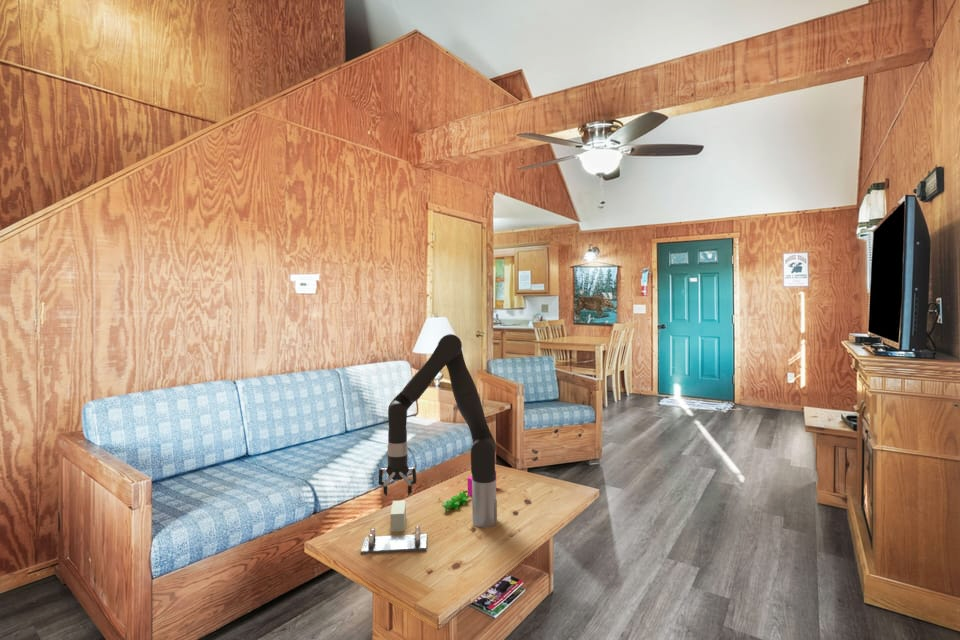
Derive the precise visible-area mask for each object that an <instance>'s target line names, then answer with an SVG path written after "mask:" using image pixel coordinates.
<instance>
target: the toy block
mask: <svg viewBox="0 0 960 640" xmlns="http://www.w3.org/2000/svg"><path fill="white" fill-rule="evenodd" d="M495 472H496V473H497V470H495ZM467 491H468V492H467V495H470V496H469V497H472V476H469V477H467Z"/></svg>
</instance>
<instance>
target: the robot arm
mask: <svg viewBox="0 0 960 640" xmlns="http://www.w3.org/2000/svg"><path fill="white" fill-rule="evenodd" d="M462 347H463V344H462V341H461V339H460V338H459V337H458V336H457V335H455V334H453V333H447V334H444V335H443V336H441V337H440V338H439V340H438V342H437V345H436V347H435V349H434V350H433V352H432V354H431V355H430V357H429V358H428V359H427V361H425V363H424V364H423V365H422V367H421V368H419V370H418V371H417V372H415V374H414V375H413V376H412V377H411V379H409V381H408V382H407V384H406V385H405V386H404V387H403V389H402V390H401V391H400V392H399V393H398V394H397V395H396V396H395V397H394V398H393V399H392V400H391V402H390V403H389V405H388V408H387V409H388V410H387V416H388V419H387V421H388V433H387V435H388V436H387V438H388V442H387V466H386V468H385V467H384V468H383V467H380V468H379V472H378V482H377V483H378V485H379V486H382V487H383V495H384V496H385V497H387V496H388V494H389V493H388V491H389V490H388V489H389V486H388V484H389V483H390V481H392V480H393V481H398V480H399V481H401V480H403V481H404V482H405V483H406V484H407V496H410V494H412V492H413V491H412V490H413V485H415V484H417V481H418V480H417V468H416V467H417V466H412V467H409V466H408V465H409V464H408V463H409V462H408V457H409V456H408V455H409V454H408V453H409V451H408V448H409V447H408V435H407V434H408V430H407V424H408V423H407V420H408V409H410V407H411V406H412V405H413V404H414V403H415V402H417V401H418V400H420V398H421V396H423V394H424V393H425V392H426V390H427V389H428V388H429V386H430V385H431V384H432V382H433V381H434V380H435V379H436V377H437V376H438V374H439V373H440V372H441V371H442V369H444V367H445V366H446V369H447V372H448V376H449V380H450V382H449V383H450V387H451V389H452V393H453V398H454V401H455V403H456V407H457V409H458V412H459V413H460V414H461V417H462V418H463V419H464V421H465V422H466V425H467V427H468V429H469V432H470V436H471V439H472V445H471V448H470V473H471V477H472V496H471V499H472V500H471V501H472V502H471V503H472V504H471V505H472V512H471V513H472V517H471V518H472V525H474V526H475V527H478V528H481V529H483V528H484V529H486V528H488V529H489V528H492V527H494V525H495V526H498V500H497V471H496V452H497V444H496V441H495V439H494V436H493V434H492V432H491V430H490V427H489V425H488V423H487V420H486V417H485V413H484V412H485V411H484V408H483V405H482V401H481V398H480V395H479V392H478V388H477V387H476V384H475V382H474V380H473V378H472V375H471V374H470V371H469V369H468V367H467V365H466V362H465V357H464V354H463V349H462ZM495 471H496V472H495ZM409 472H410V474H412V480H411V478H410V477H409V475H408V474H409ZM385 473H387V477H386V479H385V480H383V479H384V475H385Z"/></svg>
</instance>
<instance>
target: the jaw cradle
mask: <svg viewBox="0 0 960 640" xmlns="http://www.w3.org/2000/svg"><path fill="white" fill-rule="evenodd" d="M414 527H415V529H414V531H415V532H414V534H399V535H397V534H396V535H380V536H379V535H377V536H376V528H375V527H371V528H369V534H368V536H365V537H364V540H363V543H362V546H361V550H360V555H365V554H367V555H368V553H370V554H371V553H372V554H393V553H394V554H396V553H419V552H427V544H428V539H427V538H428V536H427V535H428V534H427V533H421V526H420V525H416V526H414ZM363 553H364V554H363ZM370 554H369V555H370Z"/></svg>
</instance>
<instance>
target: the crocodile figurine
mask: <svg viewBox="0 0 960 640" xmlns="http://www.w3.org/2000/svg"><path fill="white" fill-rule="evenodd" d="M470 497H471V496H470V495H468V490H463V491H462V492H459V493H458V494H456V495H454V496H453V497H450V499H448V500H446V501H444V502H443V503H442V504H441V506H442V507H443V509H444V511H445V512H447V511H448V510H451V509H453V510H459V506H460V504H461V505H463V506H465V505H466V504H467V503H466V501H467V500H469V498H470Z"/></svg>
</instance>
